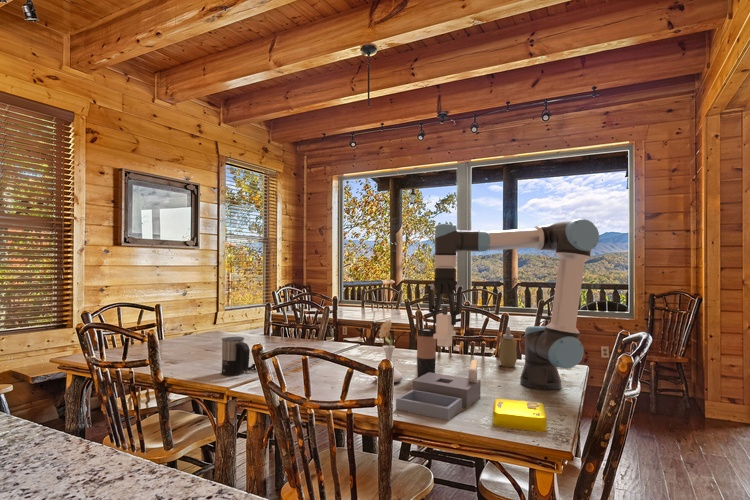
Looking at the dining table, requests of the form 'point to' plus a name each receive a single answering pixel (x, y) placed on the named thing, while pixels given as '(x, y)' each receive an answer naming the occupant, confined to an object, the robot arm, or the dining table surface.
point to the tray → (429, 404)
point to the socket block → (449, 387)
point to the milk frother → (235, 356)
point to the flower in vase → (389, 347)
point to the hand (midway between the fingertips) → (444, 333)
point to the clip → (473, 372)
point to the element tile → (519, 415)
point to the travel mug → (426, 351)
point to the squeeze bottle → (508, 350)
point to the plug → (443, 329)
